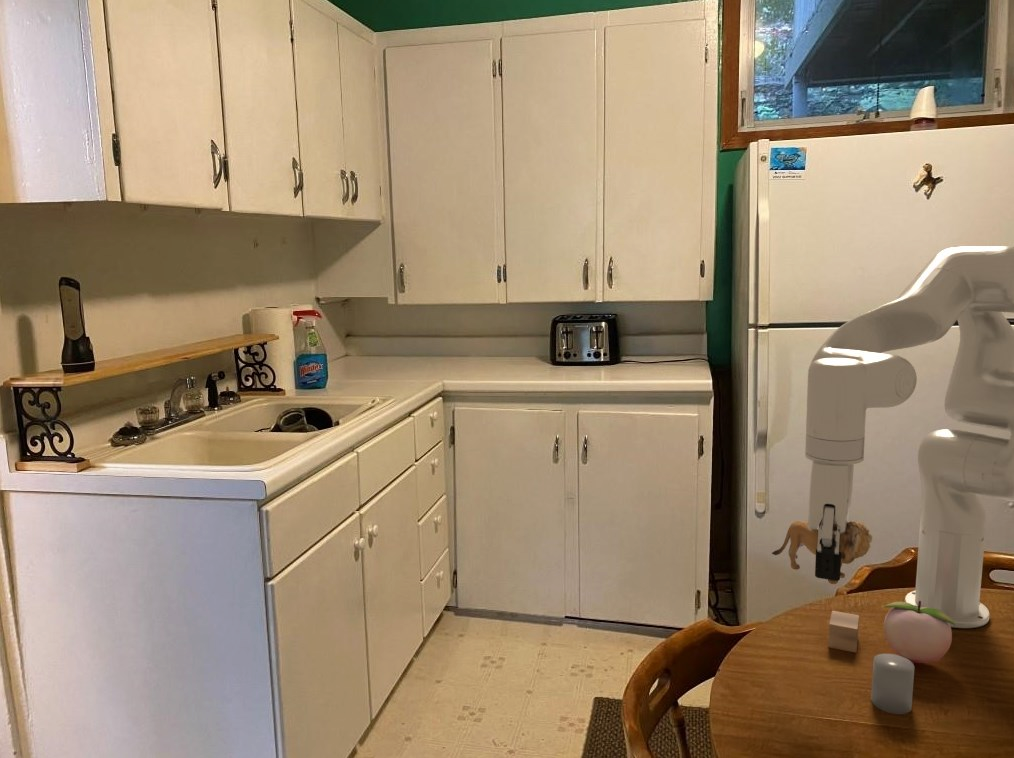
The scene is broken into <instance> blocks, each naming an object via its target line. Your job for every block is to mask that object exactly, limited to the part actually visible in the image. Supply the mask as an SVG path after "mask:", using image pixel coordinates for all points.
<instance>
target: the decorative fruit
mask: <svg viewBox="0 0 1014 758" xmlns="http://www.w3.org/2000/svg"><path fill="white" fill-rule="evenodd" d="M920 606H921V601H919V602H918V608H917V607H915V606H914V605H912V604H910V603H906V602H905V601H894V602H891V603H888V604H885V606H884V608H891V609H889V610H888V612H887V614H886V615H885V618H884V621H883V625H882V626H883V628H882V629H883V634H884V637H885V639H886V641H887V643H888V645H889V647H890V648H891V649H892V650H893V651H894V653H895V654H896V655H898V656H901V657H904V658H906V659H908V660H909V661H911V662H912V663H913V664H919V663H921V664H922V663H924V664H925V663H926V664H927V663H933V662H935V661H936V662H937V661H939V660H940V659H942V657H944V656H945V654H946V653H947V652H948V651H949V650H950V647H951V644H952V640H953V637H952V636H953V633H952V627H950V624H949V623H951V624H953V625H955V623H954V622H953V620H952V619H951V618H950V617H949V616H947V615H946V614H945V613H943V612H941V611H939V610H937V609H933V608H927V607H921V608H920Z"/></svg>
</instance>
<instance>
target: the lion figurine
mask: <svg viewBox="0 0 1014 758" xmlns="http://www.w3.org/2000/svg"><path fill="white" fill-rule="evenodd" d="M818 530H819V529H818V528H817V529H813V530H812V531H811V530H809V528H808V522H806V521H802V520H801V521H799V520H796V521H794V522H792V523H791V524H790V525H789V528H788V529H787V533H786V536H785V539H784V541H783V543H782V546H781V547H780V548H779V549H777V550H774V551H772V552H771V554H772V555H774V556H778V555H780V554H781V553H782V552H784V550H785V549H786V547H787V545H788V544H789V541H790V545H789V549H788V557H789V559H790V568H791V569H793V570H795V571H796V570H800V568H801V566H800V565H799V564H798V563H797V559H798V558H799V557H798V554H797V552H798V550H799V548H802V547H803V546H805V547H806V549H807V550H809V552H811V554H814V556H816V549H817V546H818ZM833 530H834V531H837V527H833ZM835 538H836V535H833V539H835ZM872 542H873V535H872V534H870V529H869V528H867V526H866V524H864V523H863V522H862V521H857V520H855V521H851V520H850V521H849V522H847V526H846V530H845V532H844V533H843V534H840V545H839V552H841V567H842V566H843V564H846V565H849V564H851V563H852V562H854V561H855V559H859V558H861V557H864V556H865V555H867V553H868V552H869V550H870V548H871V543H872ZM845 578H846V574H845V573H844V572H841V571H840V579H845ZM827 581H828V583H829V584H830V585H837V584H838V583H839V581H835V580H828V579H827Z"/></svg>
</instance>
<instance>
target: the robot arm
mask: <svg viewBox="0 0 1014 758" xmlns="http://www.w3.org/2000/svg"><path fill="white" fill-rule="evenodd" d="M1003 313H1014V246H1010V245H1009V246H1008V245H1002V246H999V245H998V246H994V245H993V246H956V247H948V248H945V249H943V250H940V251H939V252H938V253H937V254H935V255H933V257H932V258H931V259H930V260H929V261H928V262H927V263H926V264H925V266H924V267H923V268H921V270H920V272H918V273H917V275H916V276H915V277H914V279H913V280H912V281H911V282H910V283H909V284H908V285H907V286H906V288H904V290H903V291H902V292H901V293H900V294H899V296H898V297H897V298H896V299H895V300H893V301H890V302H888V303H885V304H881V305H880V306H877V307H876V308H874V309H871V310H869V311H867V312H865V313H863V314H860V315H859V316H856V317H854V318H852V319H851V320H848V321H847V322H845V323H843V324H842V325H841V326H839V327H838V328H837V329H836V330H835V331H833V333H832V334H831V335H830V336H829V337H828V338H827V339H826V340H825V342H823V344H822V345H821V346H820V347H819V348H818V350H817V351H816V353H815V355H814V356H813V358H812V360H811V363H810V364H809V367H808V369H807V370H808V372H807V389H806V390H807V395H806V397H807V398H806V421H805V423H806V424H805V427H806V428H805V447H804V448H805V449H804V450H805V451H804V457H805V458H806V459H808V460H810V461H812V464H811V471H810V483H809V484H810V485H809V501H808V505H809V506H808V516H807V517H808V519H807V523H808V528H809V530H811V531H812V530H813V529H817V530H818V546H817V549H816V555H815V563H814V564H815V566H814V567H815V568H814V570H815V571H814V576H815V578H817V579H822V580H827V581H828V580H835V581H838V582H839V581H840V580H841V578H840V572H841V570H842V569H841V568H842V566H841V552H839V545H840V534H843V533H844V532H845V530H846V526H847V522H848V521H849V516H850V512H851V505H852V496H853V485H854V467H855V466H854V465H856V464H860V463H863V461H864V459H865V458H864V457H865V456H864V455H865V439H866V438H865V437H866V435H865V434H866V433H865V432H866V414H867V410H868V409H872V408H875V409H877V408H881V409H885V408H886V409H888V408H892V407H897V406H899V405H901V404H903V403H905V402H906V401H907V400H908V399H910V398H911V397H912V395H913V394H914V392H915V389H916V386H917V382H918V381H917V372H916V369H915V367H914V366H913V364H912V363H911V362H910V361H909V360H908V359H906V358H905V357H901V356H899V355H896V354H891V353H886V352H890V351H897V350H903V349H909V348H913V347H914V348H915V347H918V346H923V345H926V344H930V343H933V342H936V341H938V340H940V339H942V338H943V337H944V336H945V335H947V333H948V332H949V331H950V329H951V328H952V327H953V326H954V324H955V323H956V322H957V323H958V328H959V342H958V343H959V344H958V348H957V353H956V357H955V359H954V364H953V366H952V370H951V374H950V377H949V381H948V385H947V388H946V392H945V397H944V411H945V413H946V415H947V416H948V417H949V418H950V419H952V420H954V421H956V422H959V423H961V424H967V425H970V426H971V425H972V426H976V427H981V428H982V427H983V428H989V429H994V430H999V431H1005V432H1010V436H1009V437H1010V439H1009V438H1003V437H998V436H992V435H987V434H983V433H977V432H971V431H965V430H960V429H954V428H953V429H951V428H950V429H948V428H947V429H946V428H943V429H937V430H934V431H931V432H929V433H928V434H926V435H925V437H924V438H923V439H922V440H921V442H920V444H919V447H918V451H917V464H918V471H919V477H920V486H921V487H920V488H921V503H920V507H921V508H920V519H919V520H920V521H919V522H920V523H919V534H918V548H917V549H918V550H917V564H916V576H915V577H916V579H915V589H914V590H913V591H910V592H908V593H907V594H906V595H905V596H904V602H906V603H910V604H912V605H914V606H915V607H917V608H918V602H919V601H921V606H920V608H921V607H927V608H933V609H937V610H939V611H941V612H943V613H945V614H946V615H947V616H949V617H950V618H951V619H952V620H953V622H954V623H955V625H953V624H951V623H949V624H950V627H951V628H956V629H973V628H974V629H975V628H979V627H982V626H984V625H986V624H988V622H989V620H990V610H989V609H988V608H987V607H986V605H984V604H983V603H981V602H980V599H981V597H980V596H981V589H982V588H981V586H982V575H983V565H984V564H983V563H984V551H985V550H984V549H985V537H986V528H987V515H986V510H985V508H984V505H983V502H982V500H981V499H980V497H979V496H978V495H981V496H986V497H990V498H994V499H997V500H1003V501H1008V502H1014V328H1013V327H1012V325H1011V324H1010V322H1009V320H1008V319H1007V318H1006V317H1005V315H1004V314H1003ZM833 527H837V531H834V530H833ZM833 535H836V538H835V539H833Z"/></svg>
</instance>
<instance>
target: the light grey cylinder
mask: <svg viewBox="0 0 1014 758" xmlns="http://www.w3.org/2000/svg"><path fill="white" fill-rule="evenodd" d="M872 663H873V665H872V678H871V679H872V681H871V696H870V701H871V702H872V704H873V705H874V706H875V707H876V708H878V709H880V710H882V711H884V712H886V713H889V714H895V715H903V714H908V713H910V712H911V711H912V707H913V706H912V705H913V695H914V694H913V691H914V680H915V679H914V678H915V677H914V676H915V665H914V664H915V663H914V662H912V661H910V660H908V659H906V658H904V657H901V656H900V655H898V654H895V653H879V654H876V655H875V656H874V657H873V662H872Z"/></svg>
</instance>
